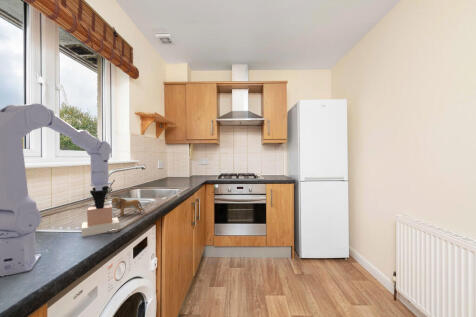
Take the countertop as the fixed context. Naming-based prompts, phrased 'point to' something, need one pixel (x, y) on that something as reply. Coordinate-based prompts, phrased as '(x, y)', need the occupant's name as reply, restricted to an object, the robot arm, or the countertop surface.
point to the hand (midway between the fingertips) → (100, 206)
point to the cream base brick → (99, 227)
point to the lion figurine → (125, 204)
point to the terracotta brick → (99, 215)
